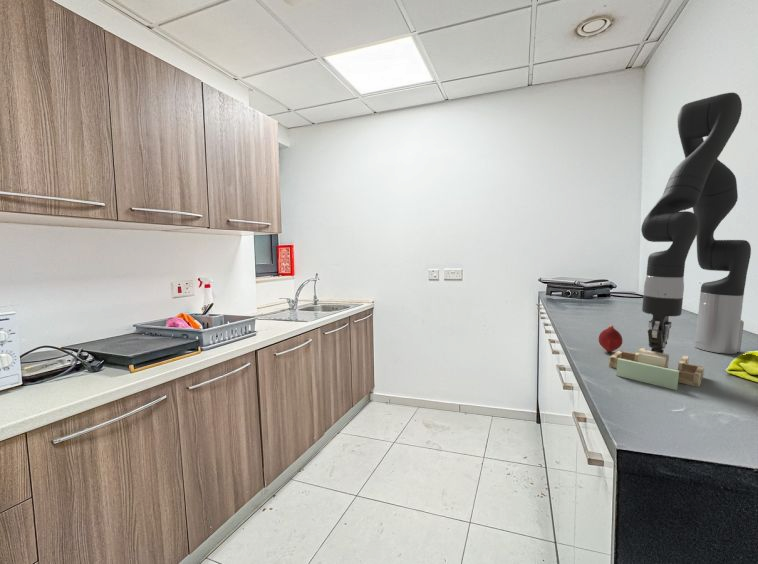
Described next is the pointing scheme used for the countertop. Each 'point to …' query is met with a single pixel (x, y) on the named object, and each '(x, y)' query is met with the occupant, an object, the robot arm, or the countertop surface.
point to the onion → (610, 339)
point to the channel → (686, 371)
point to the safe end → (648, 373)
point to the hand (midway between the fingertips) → (656, 363)
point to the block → (653, 358)
